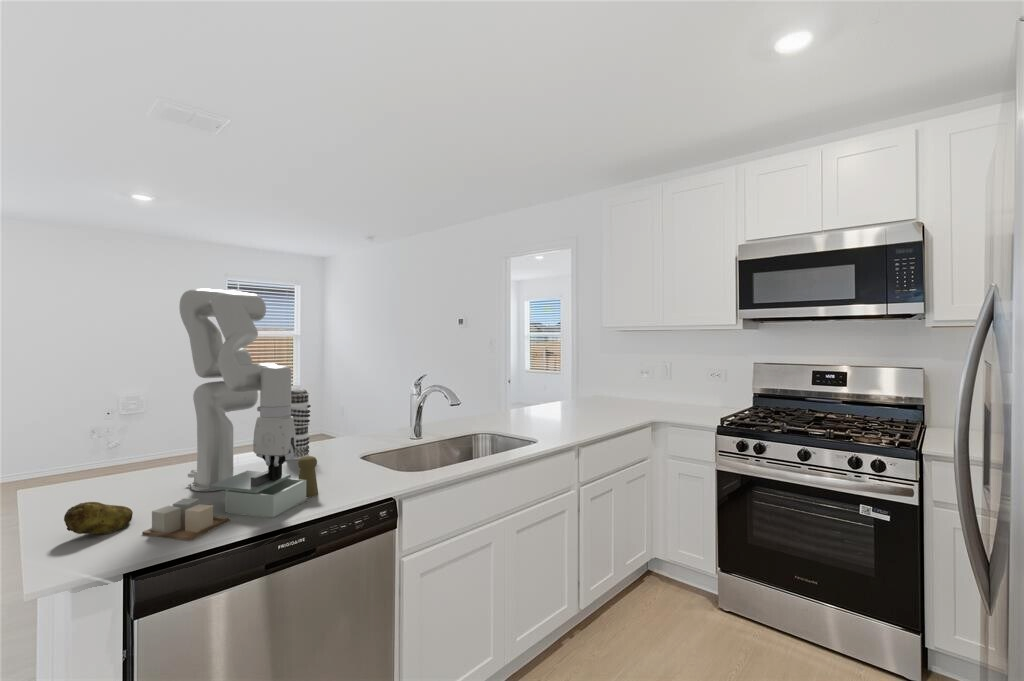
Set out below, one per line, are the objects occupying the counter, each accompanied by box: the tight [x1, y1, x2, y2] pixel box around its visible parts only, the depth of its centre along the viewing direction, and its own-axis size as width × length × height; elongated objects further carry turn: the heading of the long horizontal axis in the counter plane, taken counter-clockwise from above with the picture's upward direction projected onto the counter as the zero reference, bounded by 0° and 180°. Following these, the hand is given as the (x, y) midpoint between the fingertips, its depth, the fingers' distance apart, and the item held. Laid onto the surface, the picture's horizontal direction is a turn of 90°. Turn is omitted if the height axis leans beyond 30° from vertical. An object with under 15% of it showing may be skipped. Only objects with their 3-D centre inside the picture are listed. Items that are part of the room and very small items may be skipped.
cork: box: [297, 455, 319, 498], centre depth 146 cm, size 6×6×11 cm
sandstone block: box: [185, 503, 214, 532], centre depth 120 cm, size 4×4×5 cm
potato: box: [63, 501, 134, 536], centre depth 117 cm, size 8×13×8 cm, turn 138°
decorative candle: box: [286, 388, 312, 460], centre depth 187 cm, size 9×9×25 cm
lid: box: [209, 470, 292, 493], centre depth 136 cm, size 14×14×3 cm
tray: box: [141, 515, 231, 542], centre depth 120 cm, size 13×12×1 cm
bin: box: [224, 477, 307, 519], centre depth 135 cm, size 14×14×6 cm
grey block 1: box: [151, 505, 181, 533], centre depth 118 cm, size 4×4×5 cm
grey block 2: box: [172, 498, 200, 525], centre depth 124 cm, size 4×4×5 cm
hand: (275, 479), depth 135 cm, fingers closed
